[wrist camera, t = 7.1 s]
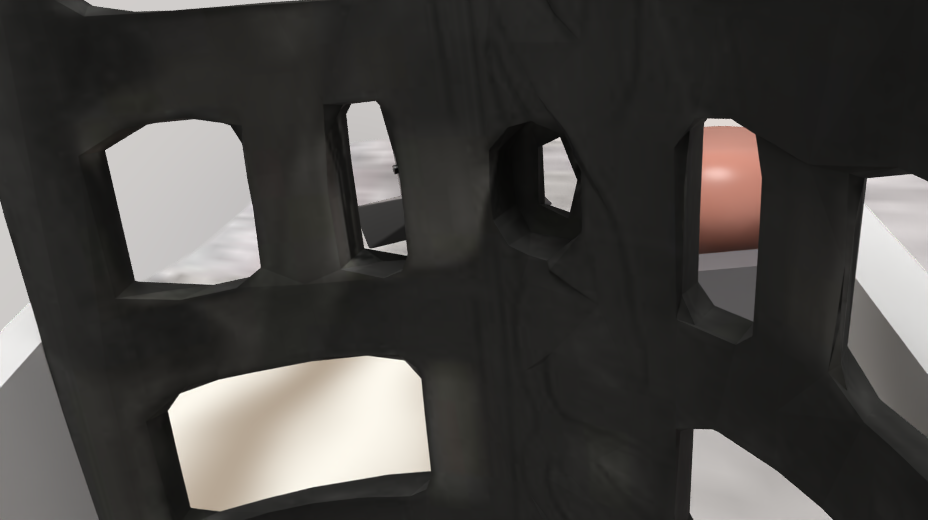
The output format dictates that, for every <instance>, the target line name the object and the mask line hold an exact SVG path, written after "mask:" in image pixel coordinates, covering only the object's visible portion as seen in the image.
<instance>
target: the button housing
mask: <svg viewBox="0 0 928 520" xmlns="http://www.w3.org/2000/svg"><path fill="white" fill-rule="evenodd" d="M757 258H758V249H751V250H740V251H729V252H718V253H707V254H699V269H698V282H699V284H700V285H701V287H702V288H703V290H704V291H705V292H706V294H707V295H708V297H709V298H710V300H711V301H712V303H713V304H714V305H715V306H717V307H719V308H722V309H724V310H726V311H729V312H731V313H734V314H736V315H739V316H741V317H743V318H746V319H748V320H751V321H753V319H754V304H755V289H756V274H757Z"/></svg>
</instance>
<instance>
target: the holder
mask: <svg viewBox="0 0 928 520" xmlns="http://www.w3.org/2000/svg"><path fill="white" fill-rule="evenodd" d="M370 101H376V102H377V103H378V104H379V105H380V108H381V111H382V114H383V118H384V121H385V125H386V128H387V132H388V135H389V139H390V142H391V146H392V149H393V152H394V156H395V159H396V163H397V166H398V170H399V177H400V186H401V195H402V204H403V214H404V223H405V233H406V242H407V251H408V255H407V256H405V255H399V254H393V253H388V252H382V251H376V250H371V249H365V248H364V245H363V238H362V231H361V224H360V217H359V210H358V204H357V197H356V190H355V183H354V176H353V169H352V162H351V154H350V145H349V136H348V128H347V127H348V126H347V118H346V113H347V111H348V109H349V107H350V105H351V104H353V103H361V102H370ZM707 118H714V119H733V120H734V121H735V122H737V123H739V124H740V125H742V126H743V127H745V128H746V129H748V130H749V131H751V132H752V133H754V134H755V135H756V141H757V148H758V155H759V162H760V169H761V176H762V185H761V206H760V227H759V242H758V258H757V274H756V289H755V304H754V319H753V321H751V320H748V319H746V318H743V317H741V316H739V315H736V314H734V313H731V312H729V311H726V310H724V309H722V308H719V307H717V306H715V305H714V304H713V303H712V301H711V300H710V298H709V297H708V295H707V294H706V292H705V291H704V290H703V288H702V287H701V285H700V284H699V282H698V269H699V234H700V205H701V181H702V157H703V134H704V122H705V121H706V120H707ZM189 119H198V120H206V121H212V122H220V123H224V124H228V125H231V127H232V129H233V130H234V132H235V133H236V135H237V136H238V138H239V139H240V141H241V143H242V145H243V152H244V159H245V166H246V172H247V179H248V184H249V189H250V194H251V200H252V205H253V210H254V218H255V226H256V233H257V241H258V248H259V256H260V264H261V268H260V269H259V270H258V271H256V272H255V273H254V274H253V275H252V276H250V277H248V278H243V279H239V280H234V281H230V282H225V283H220V284H216V285H202V284H178V283H155V282H138V281H135V279H134V275H133V270H132V266H131V262H130V257H129V253H128V248H127V244H126V240H125V235H124V231H123V227H122V223H121V218H120V214H119V209H118V205H117V201H116V196H115V192H114V188H113V183H112V179H111V175H110V171H109V166H108V162H107V157H106V153H105V150H106V149H108V148H109V147H111V146H113V145H114V144H116V143H118V142H119V141H121V140H122V139H124V138H126V137H127V136H129V135H131V134H132V133H134V132H136V131H137V130H139V129H140V128H142V127H144V126H145V125H147V124H152V123H159V122H170V121H179V120H189ZM558 137H560V138H561V140H562V143H563V145H564V148H565V150H566V153H567V155H568V158H569V160H570V163H571V165H572V168H573V170H574V173H575V176H576V178H577V184H576V189H575V193H574V197H573V201H572V206H571V210H570V212H568V211H565V210H562V209H559V208H556V207H553V206H550V205H547V204H545V191H544V169H543V146H542V145H544V144H546V143H548V142H551V141H553V140H555V139H557V138H558ZM905 174H913V175H915V176H918V177H920V178H922V179H924V180H926V181H928V0H299V1H284V2H271V3H270V2H269V3H257V4H246V5H234V6H222V7H212V8H199V9H186V10H176V11H144V12H133V11H125V10H118V9H111V8H103V7H96V6H92V5H90V4H89V3H87V2H86V1H84V0H0V202H1V205H2V209H3V213H4V217H5V220H6V223H7V226H8V229H9V233H10V236H11V239H12V243H13V246H14V249H15V253H16V256H17V259H18V263H19V266H20V269H21V272H22V276H23V279H24V283H25V286H26V289H27V293H28V296H29V299H30V303H31V306H32V310H33V313H34V316H35V320H36V323H37V327H38V330H39V334H40V338H41V342H42V345H43V349H44V353H45V356H46V359H47V363H48V366H49V369H50V372H51V376H52V379H53V382H54V385H55V389H56V392H57V395H58V398H59V402H60V405H61V408H62V412H63V415H64V418H65V421H66V424H67V427H68V430H69V433H70V436H71V439H72V442H73V445H74V448H75V451H76V454H77V457H78V460H79V463H80V466H81V469H82V472H83V475H84V477H85V480H86V483H87V486H88V489H89V492H90V495H91V498H92V501H93V504H94V507H95V510H96V513H97V516H98V519H99V520H693V518H692V516H691V515H690V513H689V512H690V492H691V471H692V450H693V429H713V430H715V431H717V432H719V433H721V434H722V435H724V436H725V437H727V438H728V439H730V440H731V441H733V442H734V443H736V444H737V445H739V446H740V447H742V448H744V449H745V450H747V451H748V452H750V453H751V454H753V455H754V456H756V457H757V458H759V459H760V460H762V461H763V462H765V463H766V464H768V465H769V466H771V467H772V468H774V469H775V470H777V471H778V472H779V473H780V474H782V475H783V476H784V477H785V478H786V479H788V480H789V481H790V482H791V483H792V484H794V485H795V486H796V487H797V488H798V489H800V490H801V491H802V492H803V493H804V494H805V495H807V496H808V497H809V498H810V499H811V500H813V501H814V502H815V503H816V504H817V505H819V506H820V507H821V508H822V509H823V510H824V511H825V512H826V513H827V514H828V515H829V516H830V517H831V518H832V519H833V520H928V438H927V437H926V436H925V435H924V434H922V433H921V432H920V431H919V430H917V429H916V428H915V427H914V426H913V425H911V424H910V423H909V422H908V421H906V420H905V419H904V418H903V417H901V416H900V415H899V414H898V413H896V412H895V411H894V410H893V409H892V408H890V407H889V406H888V405H887V404H885V403H884V402H883V401H882V400H880V398H879V397H878V395H877V393H876V392H875V390H874V388H873V387H872V385H871V383H870V382H869V380H868V379H867V377H866V375H865V374H864V372H863V370H862V369H861V367H860V366H859V364H858V362H857V361H856V359H855V357H854V356H853V354H852V353H851V351H850V349H849V348H848V337H849V329H850V320H851V311H852V303H853V294H854V286H855V277H856V268H857V260H858V251H859V242H860V234H861V225H862V216H863V208H864V199H865V190H866V182H867V178H873V177H884V176H895V175H905ZM360 356H373V357H380V358H388V359H396V360H404V361H405V362H406V363H407V364H408V365H409V366H410V367H411V368H412V369H413V370H414V371H415V372H416V374H417V375H418V376H419V377H420V378H421V381H422V392H423V402H424V413H425V422H426V431H427V440H428V449H429V458H430V467H431V471H424V472H412V473H400V474H388V475H382V476H376V477H370V478H364V479H359V480H353V481H347V482H341V483H335V484H329V485H323V486H317V487H312V488H307V489H303V490H299V491H295V492H291V493H287V494H283V495H278V496H274V497H270V498H266V499H262V500H259V501H255V502H252V503H248V504H244V505H241V506H237V507H234V508H230V509H227V510H223V511H213V510H205V509H197V508H191V507H190V502H189V498H188V494H187V490H186V486H185V482H184V478H183V474H182V470H181V465H180V461H179V457H178V453H177V449H176V444H175V440H174V436H173V431H172V427H171V422H170V418H169V413H168V410H169V409H170V407H171V406H172V404H173V403H174V401H175V400H176V399H177V397H178V396H179V394H180V393H183V392H186V391H189V390H192V389H194V388H197V387H200V386H203V385H205V384H208V383H211V382H214V381H217V380H220V379H225V378H230V377H234V376H239V375H244V374H249V373H254V372H259V371H265V370H270V369H275V368H280V367H285V366H291V365H296V364H301V363H306V362H312V361H322V360H331V359H341V358H350V357H360Z"/></svg>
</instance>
